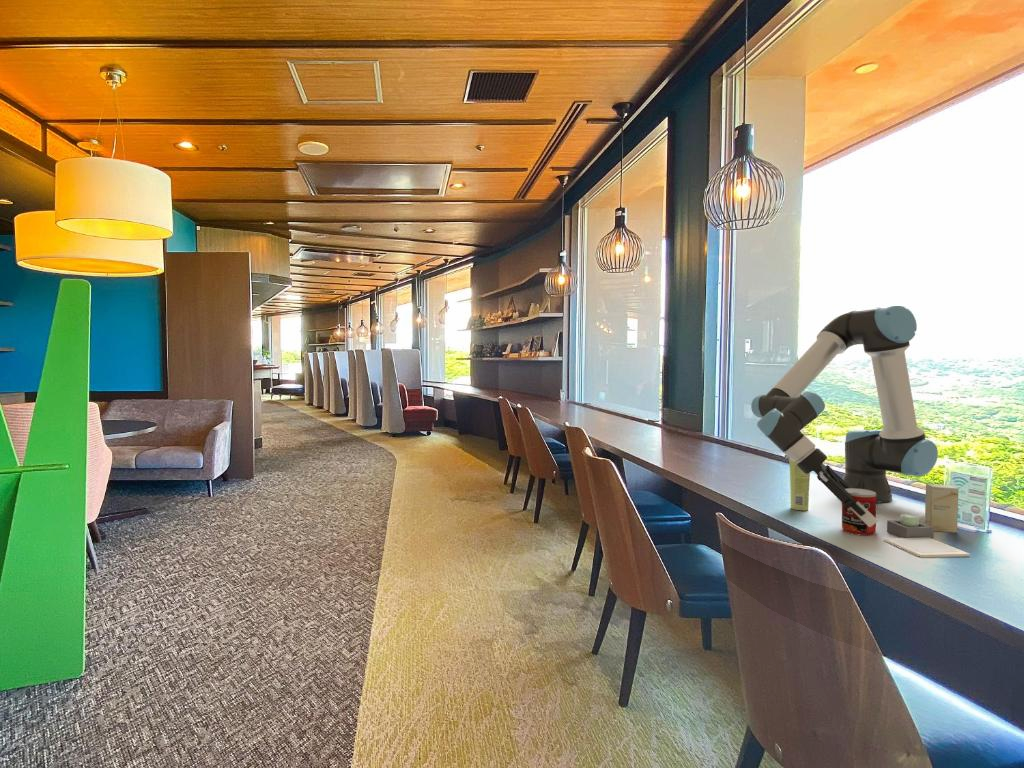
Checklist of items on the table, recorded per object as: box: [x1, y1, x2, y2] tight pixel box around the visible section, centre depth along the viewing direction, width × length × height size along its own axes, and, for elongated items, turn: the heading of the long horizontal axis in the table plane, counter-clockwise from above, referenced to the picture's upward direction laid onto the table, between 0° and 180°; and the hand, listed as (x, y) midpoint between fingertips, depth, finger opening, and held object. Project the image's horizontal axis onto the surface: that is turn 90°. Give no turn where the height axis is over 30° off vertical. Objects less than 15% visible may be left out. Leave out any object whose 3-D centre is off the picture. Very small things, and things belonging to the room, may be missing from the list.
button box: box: [886, 519, 934, 539], centre depth 142 cm, size 7×7×3 cm
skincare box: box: [924, 483, 959, 533], centre depth 146 cm, size 6×4×12 cm
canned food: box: [841, 488, 877, 536], centre depth 146 cm, size 8×8×11 cm
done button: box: [899, 513, 920, 527], centre depth 142 cm, size 4×4×3 cm
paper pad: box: [882, 537, 971, 558], centre depth 132 cm, size 12×12×1 cm
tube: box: [788, 458, 811, 511], centre depth 168 cm, size 6×5×20 cm
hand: (873, 519), depth 144 cm, fingers closed on canned food, 8 cm apart
